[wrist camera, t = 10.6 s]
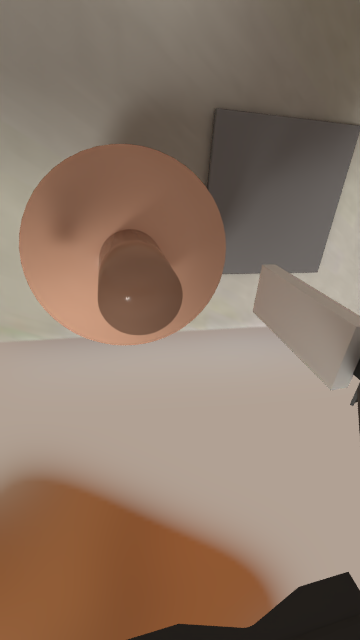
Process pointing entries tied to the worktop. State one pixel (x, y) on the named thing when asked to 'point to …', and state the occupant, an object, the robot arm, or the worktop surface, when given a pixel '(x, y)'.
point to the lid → (122, 244)
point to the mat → (277, 187)
